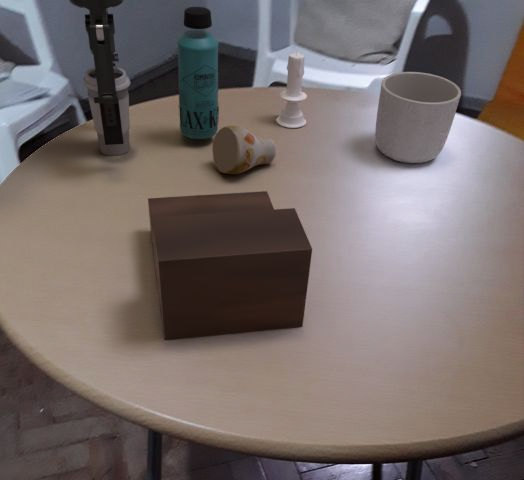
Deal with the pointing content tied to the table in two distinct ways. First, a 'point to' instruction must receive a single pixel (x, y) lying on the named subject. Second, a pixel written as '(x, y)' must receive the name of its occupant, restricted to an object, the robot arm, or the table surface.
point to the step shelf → (228, 264)
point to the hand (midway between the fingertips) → (113, 123)
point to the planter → (415, 115)
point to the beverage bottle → (198, 76)
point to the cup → (123, 98)
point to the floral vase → (240, 150)
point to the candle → (293, 93)
